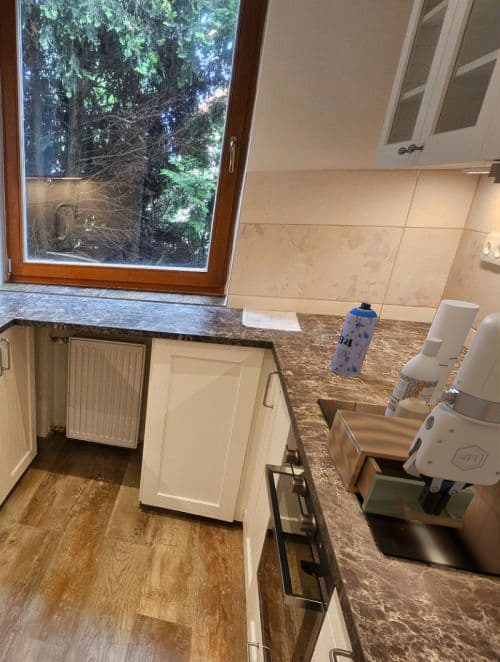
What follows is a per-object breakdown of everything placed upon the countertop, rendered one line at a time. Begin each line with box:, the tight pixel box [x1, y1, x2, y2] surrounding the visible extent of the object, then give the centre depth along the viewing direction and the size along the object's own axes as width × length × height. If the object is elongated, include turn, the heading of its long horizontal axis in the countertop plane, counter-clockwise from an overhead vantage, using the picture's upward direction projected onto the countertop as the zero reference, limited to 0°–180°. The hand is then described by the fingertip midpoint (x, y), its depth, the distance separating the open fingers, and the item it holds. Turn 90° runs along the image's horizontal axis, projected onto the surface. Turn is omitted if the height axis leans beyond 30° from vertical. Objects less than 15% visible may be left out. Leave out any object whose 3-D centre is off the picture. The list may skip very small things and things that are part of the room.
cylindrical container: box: [426, 299, 481, 406], centre depth 115 cm, size 7×7×25 cm
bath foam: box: [384, 336, 443, 417], centre depth 106 cm, size 7×7×20 cm
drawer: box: [355, 455, 476, 529], centre depth 80 cm, size 20×14×7 cm
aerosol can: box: [328, 302, 379, 378], centre depth 131 cm, size 8×8×20 cm
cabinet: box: [325, 409, 423, 494], centre depth 89 cm, size 16×15×9 cm
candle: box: [393, 397, 432, 423], centre depth 99 cm, size 6×6×10 cm
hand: (428, 509), depth 72 cm, fingers closed
